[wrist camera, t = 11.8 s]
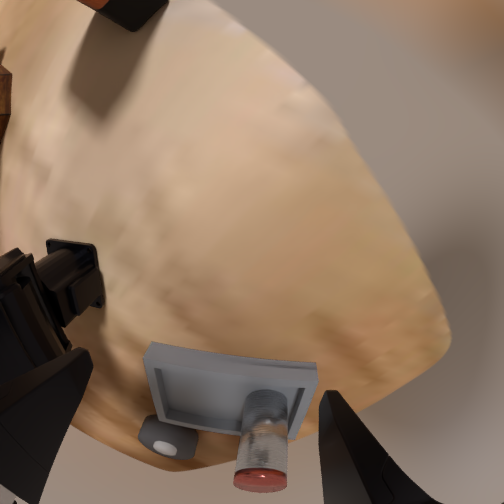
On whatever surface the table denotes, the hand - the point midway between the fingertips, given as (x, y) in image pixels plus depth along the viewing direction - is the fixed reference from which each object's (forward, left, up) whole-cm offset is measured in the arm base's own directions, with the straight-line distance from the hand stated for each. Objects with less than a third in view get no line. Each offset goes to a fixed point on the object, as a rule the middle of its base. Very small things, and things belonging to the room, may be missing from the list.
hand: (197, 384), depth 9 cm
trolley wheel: (-8, -28, -13) cm, 32 cm away
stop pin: (+4, -16, -12) cm, 20 cm away
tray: (0, -16, -13) cm, 21 cm away
